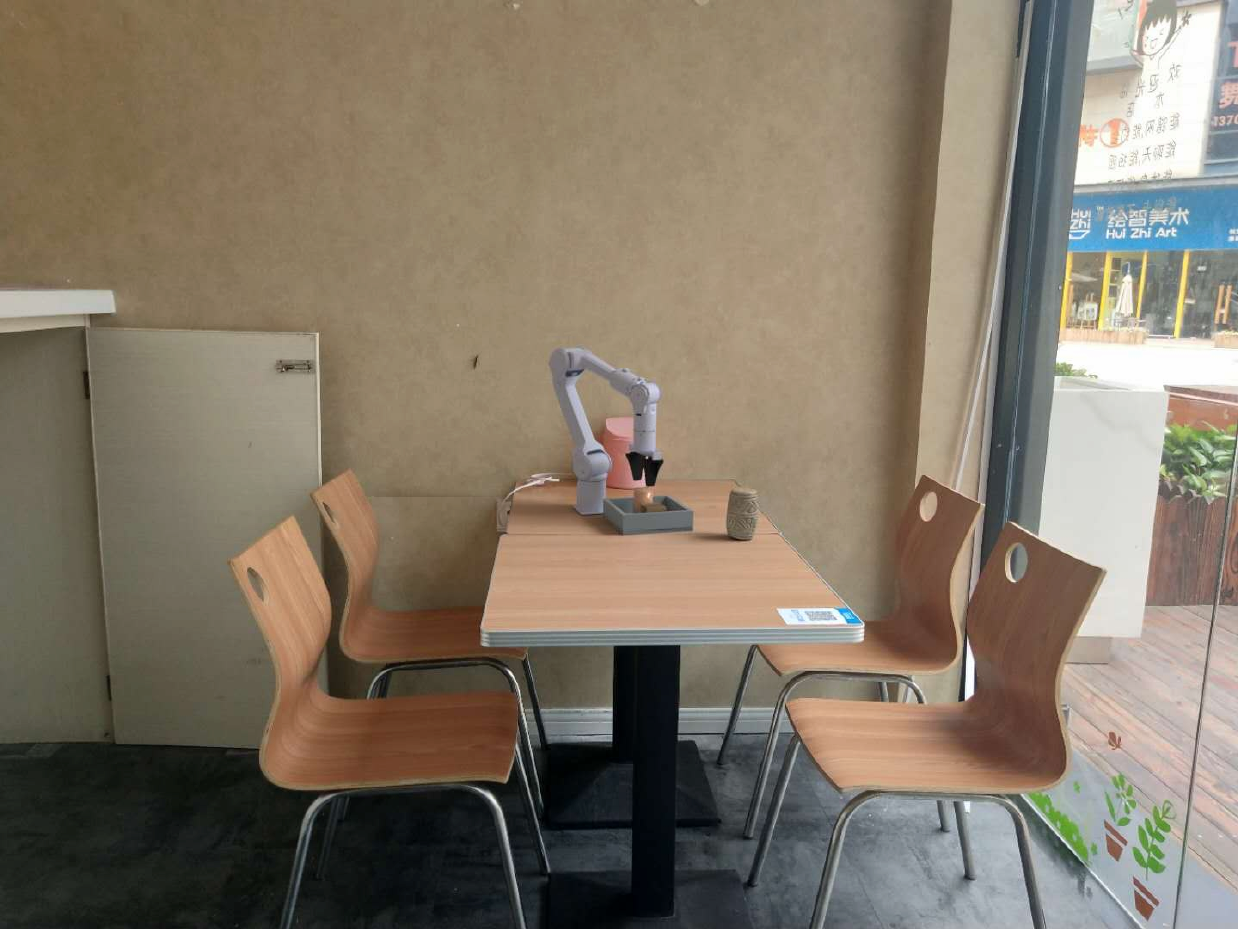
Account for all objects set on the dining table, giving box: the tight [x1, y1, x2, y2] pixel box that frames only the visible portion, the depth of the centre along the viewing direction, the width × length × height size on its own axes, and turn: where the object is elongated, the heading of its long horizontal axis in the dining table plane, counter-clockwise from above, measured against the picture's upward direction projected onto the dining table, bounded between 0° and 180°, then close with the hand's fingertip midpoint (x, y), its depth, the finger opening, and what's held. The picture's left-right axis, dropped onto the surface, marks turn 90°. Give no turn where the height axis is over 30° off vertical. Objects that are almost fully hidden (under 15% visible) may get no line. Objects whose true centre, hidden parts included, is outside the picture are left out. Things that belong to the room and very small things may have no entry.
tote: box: [602, 494, 694, 536], centre depth 228 cm, size 18×18×5 cm
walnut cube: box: [640, 503, 666, 513], centre depth 224 cm, size 5×5×5 cm
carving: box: [725, 486, 759, 541], centre depth 216 cm, size 6×8×12 cm
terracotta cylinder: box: [632, 487, 654, 514], centre depth 231 cm, size 5×5×7 cm
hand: (643, 483), depth 230 cm, fingers open, 7 cm apart
